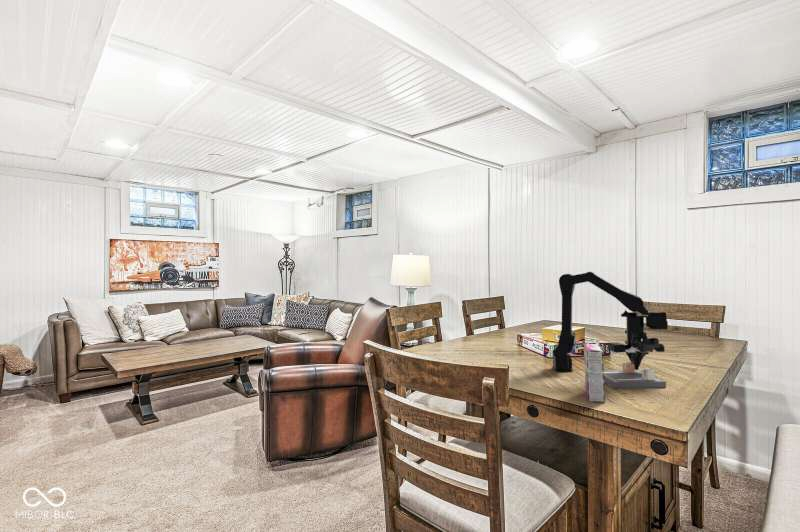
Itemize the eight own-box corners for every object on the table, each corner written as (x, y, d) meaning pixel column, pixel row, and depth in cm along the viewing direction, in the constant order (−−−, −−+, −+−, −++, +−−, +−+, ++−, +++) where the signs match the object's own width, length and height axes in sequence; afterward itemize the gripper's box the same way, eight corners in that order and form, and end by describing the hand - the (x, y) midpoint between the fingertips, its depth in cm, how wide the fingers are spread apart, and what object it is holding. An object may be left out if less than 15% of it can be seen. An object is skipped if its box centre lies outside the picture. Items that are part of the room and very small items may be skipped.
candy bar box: (584, 391, 137) (583, 343, 137) (600, 392, 135) (599, 344, 135) (587, 401, 126) (586, 349, 126) (605, 403, 124) (604, 350, 125)
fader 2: (648, 380, 140) (647, 370, 140) (642, 377, 144) (641, 368, 144) (655, 380, 140) (654, 370, 140) (649, 377, 144) (648, 368, 144)
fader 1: (628, 373, 150) (627, 364, 150) (622, 370, 154) (622, 362, 154) (634, 372, 150) (634, 364, 150) (629, 370, 154) (629, 361, 154)
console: (614, 388, 139) (613, 382, 139) (592, 376, 155) (592, 370, 155) (666, 387, 139) (666, 381, 139) (639, 375, 155) (639, 369, 155)
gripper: (622, 332, 144) (623, 375, 144) (674, 331, 144) (675, 375, 144) (606, 328, 156) (607, 368, 155) (654, 327, 155) (655, 367, 155)
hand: (636, 369), depth 152 cm, fingers closed
